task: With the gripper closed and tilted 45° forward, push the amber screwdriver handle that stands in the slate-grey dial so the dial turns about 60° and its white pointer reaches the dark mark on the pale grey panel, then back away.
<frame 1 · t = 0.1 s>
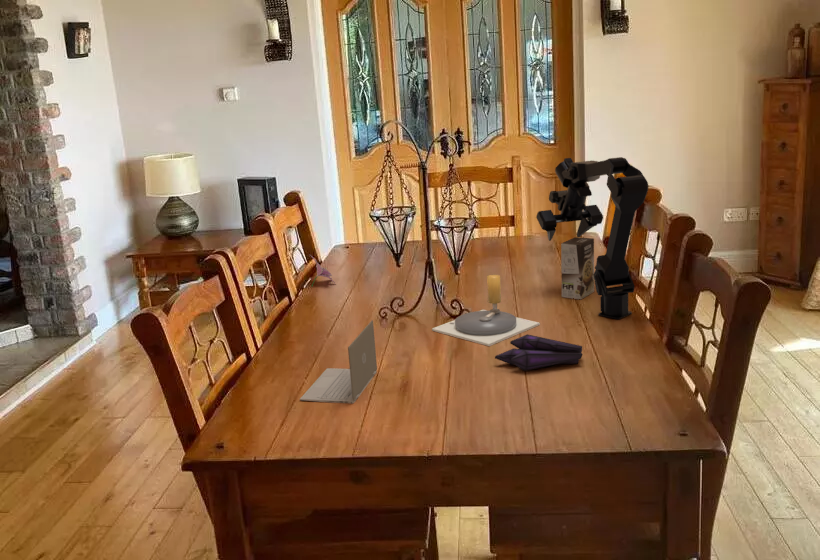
hand: (563, 238, 245), 15 cm above the table, tool tilted 35°, fingers open, 9 cm apart
laptop: (340, 387, 185), on the table
crystal: (538, 365, 190), on the table
panel: (485, 327, 217), on the table
coffee box: (578, 295, 240), on the table
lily: (323, 285, 270), on the table
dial: (484, 303, 215), point 7 cm above the table, hinge at 0.0°
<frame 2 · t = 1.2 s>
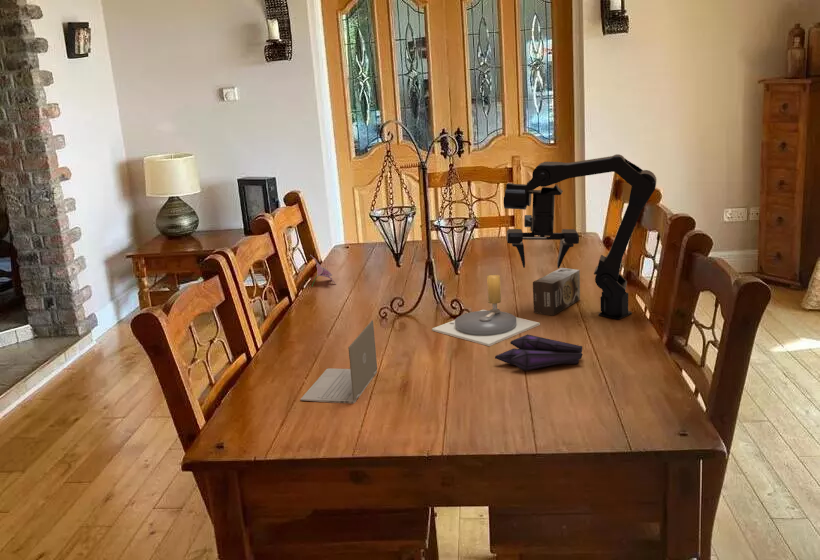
hand: (541, 267, 222), 13 cm above the table, tool pointing down, fingers open, 9 cm apart
coffee box: (570, 283, 235), point 5 cm above the table
everything else where it was.
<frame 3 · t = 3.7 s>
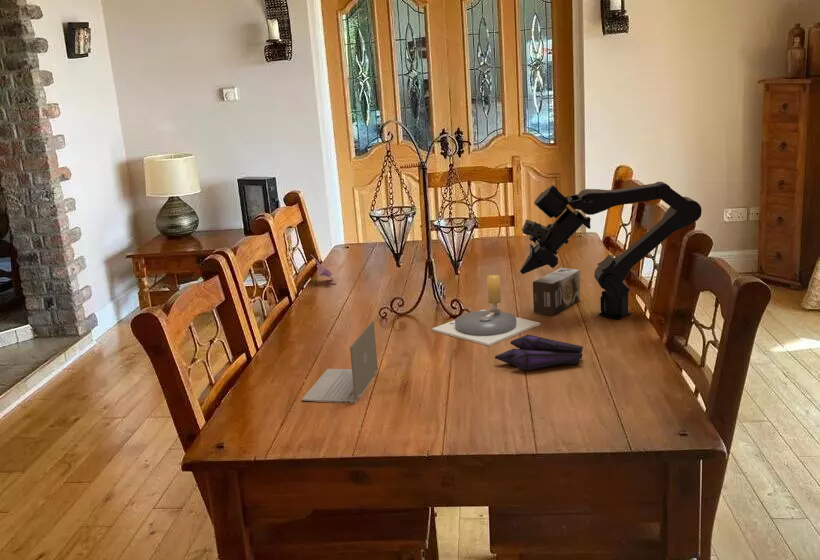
hand: (521, 272, 218), 13 cm above the table, tool tilted 45°, fingers closed
nothing on the table moved.
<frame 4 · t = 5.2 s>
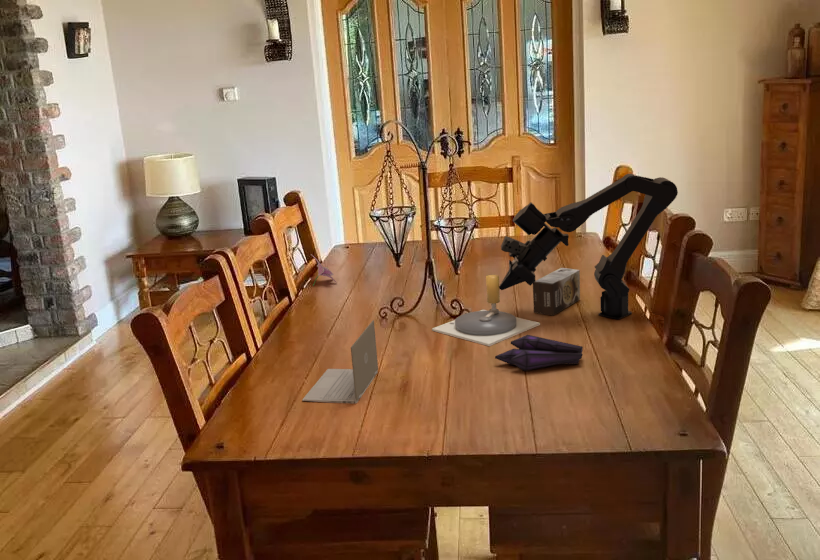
hand: (500, 288, 220), 9 cm above the table, tool tilted 45°, fingers closed, pressing on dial
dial: (484, 303, 215), point 7 cm above the table, hinge at 3.1°, touching gripper
everything else where it was.
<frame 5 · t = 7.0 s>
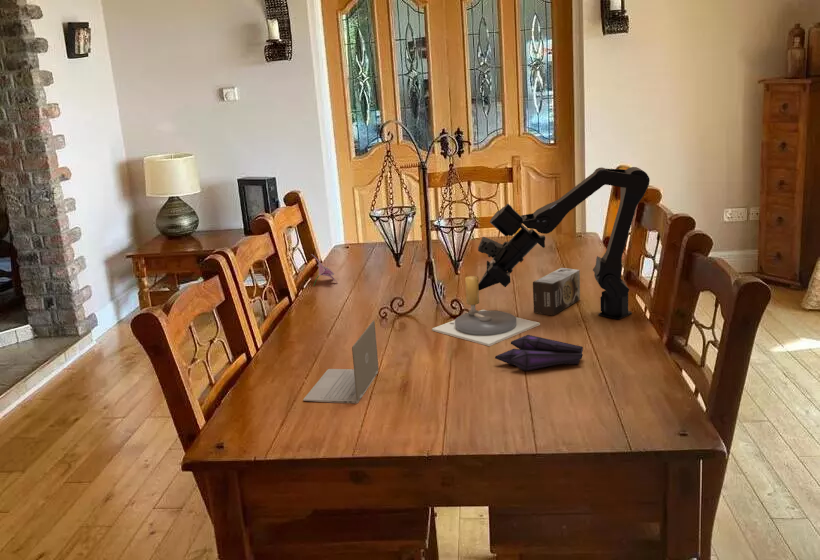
hand: (477, 289, 221), 9 cm above the table, tool tilted 45°, fingers closed, pressing on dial
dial: (484, 303, 215), point 7 cm above the table, hinge at 57.7°, touching gripper
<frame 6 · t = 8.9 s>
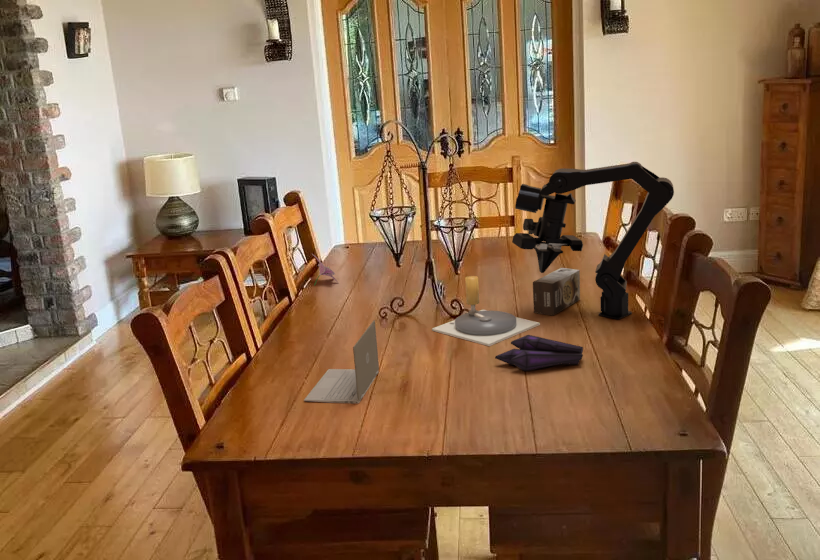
hand: (541, 272, 222), 12 cm above the table, tool pointing down, fingers closed
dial: (484, 303, 215), point 7 cm above the table, hinge at 57.7°
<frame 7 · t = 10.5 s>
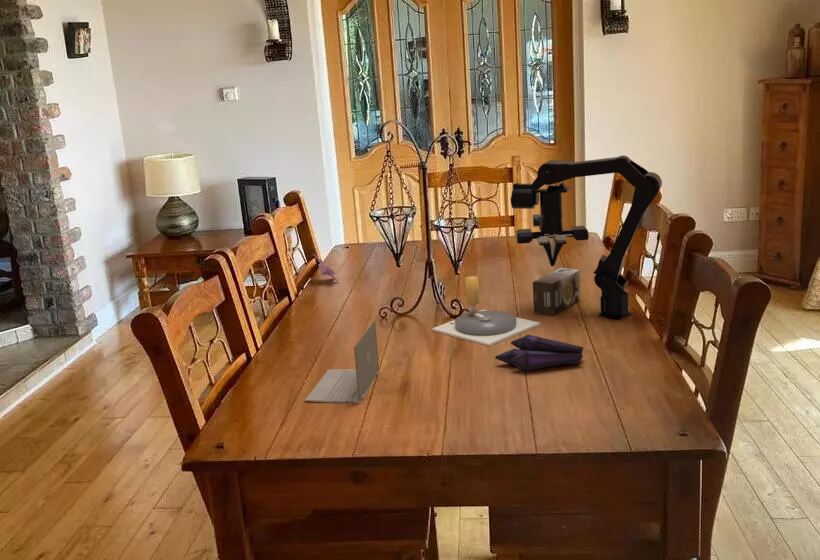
hand: (552, 265, 223), 13 cm above the table, tool pointing down, fingers closed
at the end: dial at +58° (first picture: +0°); the gripper is holding nothing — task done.
